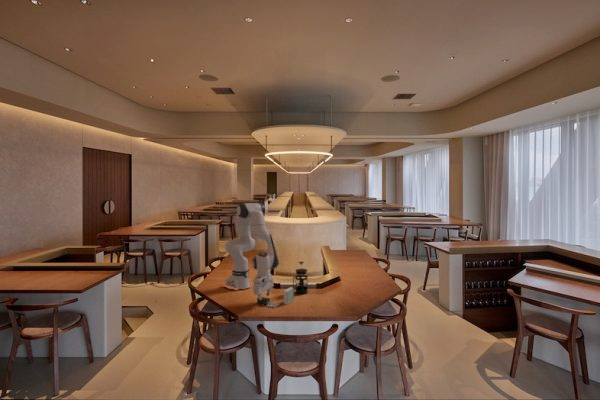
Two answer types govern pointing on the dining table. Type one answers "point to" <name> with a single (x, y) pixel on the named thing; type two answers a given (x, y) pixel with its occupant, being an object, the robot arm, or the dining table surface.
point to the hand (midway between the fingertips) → (264, 297)
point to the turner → (267, 302)
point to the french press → (301, 281)
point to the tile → (288, 295)
